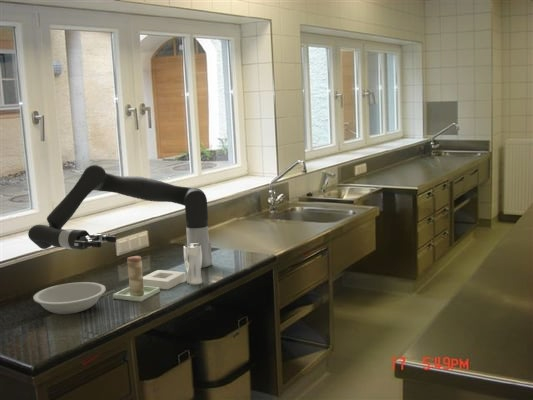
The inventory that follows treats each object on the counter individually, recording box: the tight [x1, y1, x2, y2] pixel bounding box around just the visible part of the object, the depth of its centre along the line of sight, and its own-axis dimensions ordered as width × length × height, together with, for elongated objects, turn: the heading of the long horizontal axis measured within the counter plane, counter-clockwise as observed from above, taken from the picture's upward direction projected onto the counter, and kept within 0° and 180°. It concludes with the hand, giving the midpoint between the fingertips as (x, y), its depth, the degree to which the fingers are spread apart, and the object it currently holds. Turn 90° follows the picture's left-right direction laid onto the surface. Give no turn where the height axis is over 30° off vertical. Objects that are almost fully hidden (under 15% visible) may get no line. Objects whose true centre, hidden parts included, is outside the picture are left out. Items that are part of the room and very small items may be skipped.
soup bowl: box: [32, 281, 107, 315], centre depth 218 cm, size 24×24×7 cm
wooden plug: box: [126, 255, 144, 296], centre depth 230 cm, size 5×5×14 cm
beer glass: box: [183, 243, 203, 286], centre depth 243 cm, size 7×7×15 cm
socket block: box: [143, 269, 187, 290], centre depth 244 cm, size 13×13×4 cm
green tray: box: [112, 286, 161, 302], centre depth 231 cm, size 12×12×2 cm
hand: (108, 241), depth 233 cm, fingers open, 8 cm apart
